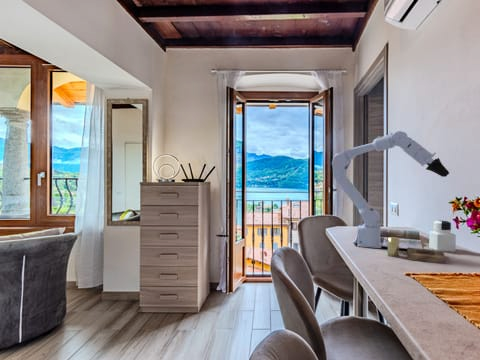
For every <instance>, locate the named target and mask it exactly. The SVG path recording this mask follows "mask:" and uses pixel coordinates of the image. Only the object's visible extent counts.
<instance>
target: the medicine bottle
mask: <svg viewBox="0 0 480 360" xmlns="http://www.w3.org/2000/svg"><path fill="white" fill-rule="evenodd" d="M451 230H452V223H451V222H449V221H448V220H434V221H433V230H430V231H429V232H428V233H429V236H428V237H429V239H428V240H429V242H428V243H429V244H428V245H429V246H428V247H429V248H430V249H431V250H442V251H443V253H444V252H446V253H447V252H448V253H450V252H451V253H455V252H456V248H457V247H456V246H457V245H456V242H457V241H456V240H457V239H456V238H457V237H456V236H457V235H456V234H455V233H452V232H451Z"/></svg>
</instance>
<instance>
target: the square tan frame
mask: <svg viewBox="0 0 480 360" xmlns="http://www.w3.org/2000/svg"><path fill="white" fill-rule="evenodd" d="M406 251H407V253H406V254H407V260H408V261H417V262H426V263H436V264H447V257H446V256H445V253H444V252H443V251H442V250H434V249H432V248H430V249H429V248H419V247H417V248H416V247H407V250H406Z"/></svg>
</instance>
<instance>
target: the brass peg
mask: <svg viewBox="0 0 480 360" xmlns="http://www.w3.org/2000/svg"><path fill="white" fill-rule="evenodd" d="M387 256H388V257H391V258H399V257H400V238H399V237H396V236H387Z"/></svg>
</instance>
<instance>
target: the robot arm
mask: <svg viewBox="0 0 480 360" xmlns="http://www.w3.org/2000/svg"><path fill="white" fill-rule="evenodd" d="M395 146H396V147H399V148H400V149H402V150H403V152H405V154H407V155H409V157H411V158H412V159H413V160H415V161H416V162H417V163H418V164H419V165H420V166H421V167H424V166H425V165H426V166H427V167H426V168H425V170H428V171H430V172H432V173H435V174H437V175H438V176H440V177H441V178H443V177H445V178H446V177H447V176H448V175H449V174H450V171H449V170H448V169H447V168H446V166H444V165H443V163H442V162H441V159H440V158H439V157H437V158H435V159H434V157H435V155H436V154H437V153H436V152H433V153H432V152H430V151H429V150H427V149H426V148H424V147H423V146H422V145H421V144H419V143H418V142H417V141H416V140H413V138H411V137H410V136H409V135H408V134H407V133H406V132H404V131H401V130H400V131H396V132H395V133H393V132H389V134H387V135H383V136H381V135H378V136H377V137H376V138H375V139H373V141H372V142H370V143H367V144H362V145H358V146H355V147H350V148H348V149H345V150H343V151H342V152H338V153H336V154H334V156H333V158H332V162H331V166H332V173H333V174H332V175H333V178H334V180H335V181H336V183H337V184H338V185H339V186H340V188H341V189H342V190H343V192H344V193H345V195H346V196H347V197H348V198H349V199H350V200H351V202H352V203H353V206H355V207H356V208H357V210H358V212H359V215H360V216H361V218H362V222H363V223H362V225H360V224H359V225H357V238H356V239H357V245H356V246H357V247H364V248H373V249H374V248H375V249H381V248H382V243H381V224H380V223H379V221H380V220H381V214H380V212H379V211H378V210H377V209H374V208H373V207H372V206H371V205H370V204H369V203H368V202H367V201H366V199H365V198H364V197H363V195H362V194H361V193H360V192H359V190H358V189H357V188H356V186H355V185H354V184H353V182H351V180H350V178H349V177H348V176H347V171H348V168H349V166H350V165H351V162H352V160H354V159H355V158H356V157H357V156H358V155H362V154H365V153H368V152H371V151H377V152H381V151H386V150H389V149H393V148H395Z"/></svg>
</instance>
